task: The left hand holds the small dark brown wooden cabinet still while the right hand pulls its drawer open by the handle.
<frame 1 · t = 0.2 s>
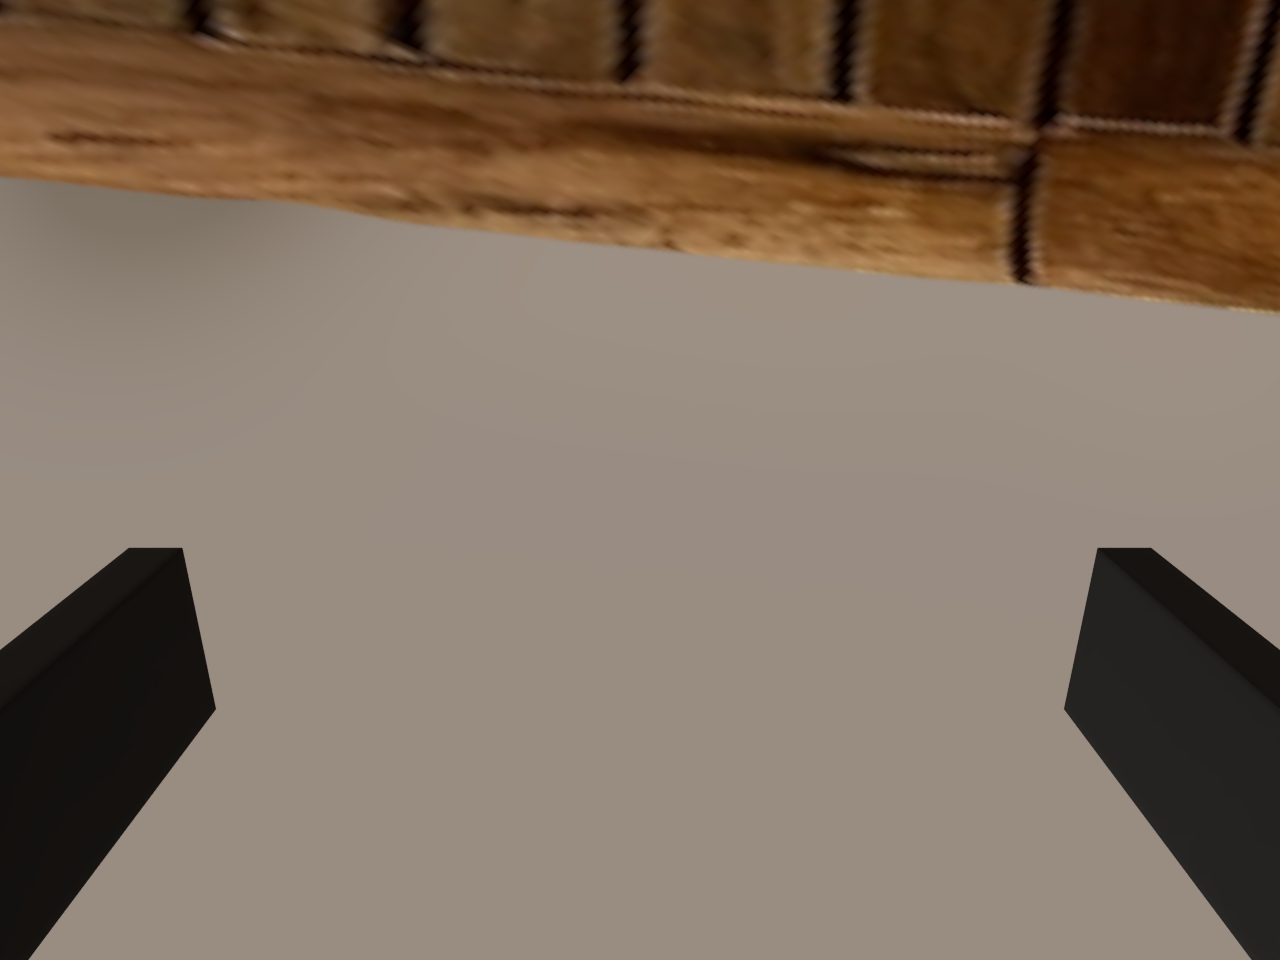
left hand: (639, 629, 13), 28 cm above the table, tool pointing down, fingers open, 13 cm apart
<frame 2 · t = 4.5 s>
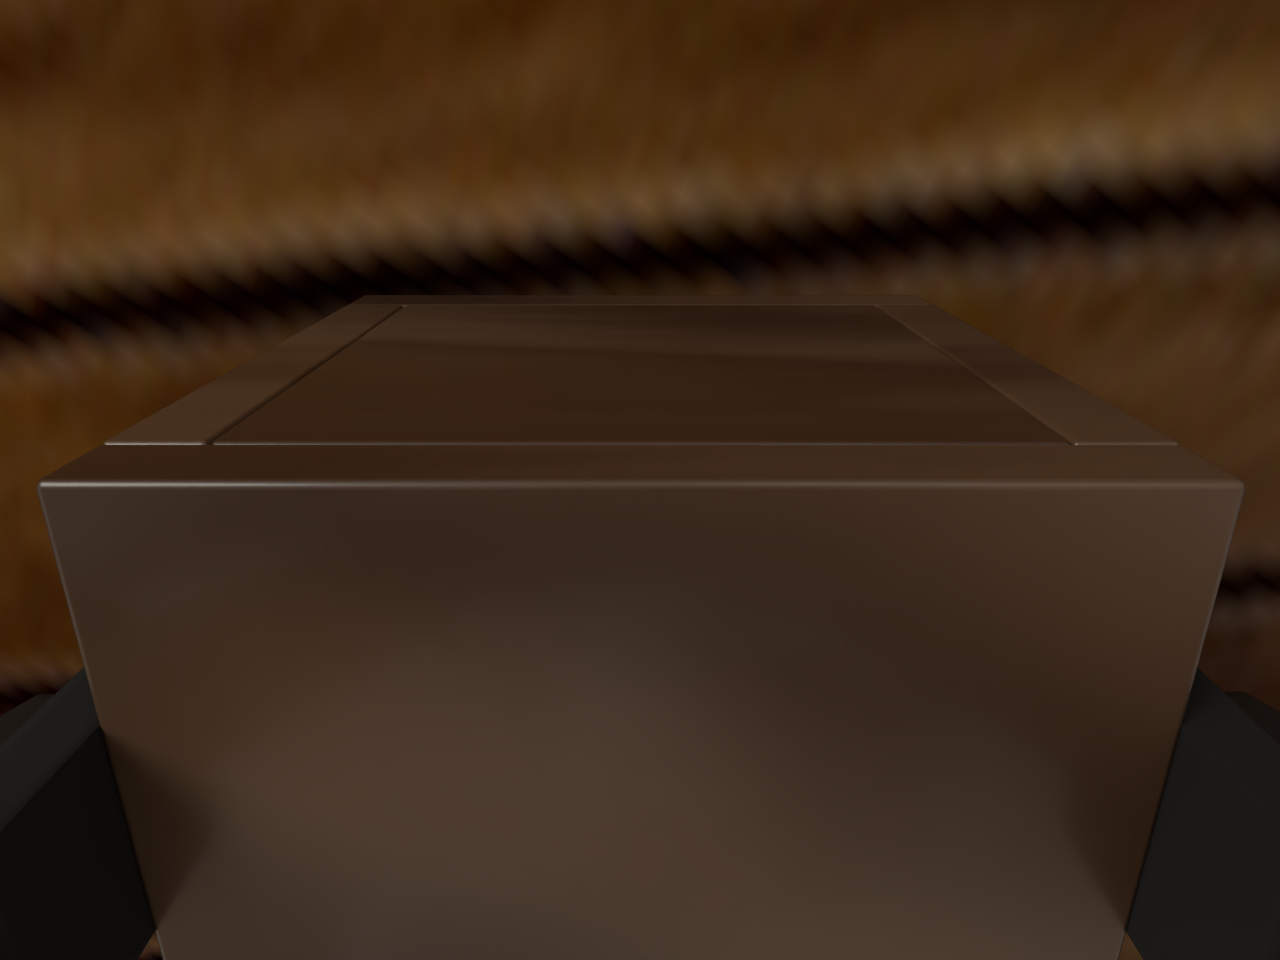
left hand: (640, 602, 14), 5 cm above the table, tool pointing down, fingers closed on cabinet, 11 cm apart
cabinet: (640, 688, 20), on the table, touching left hand
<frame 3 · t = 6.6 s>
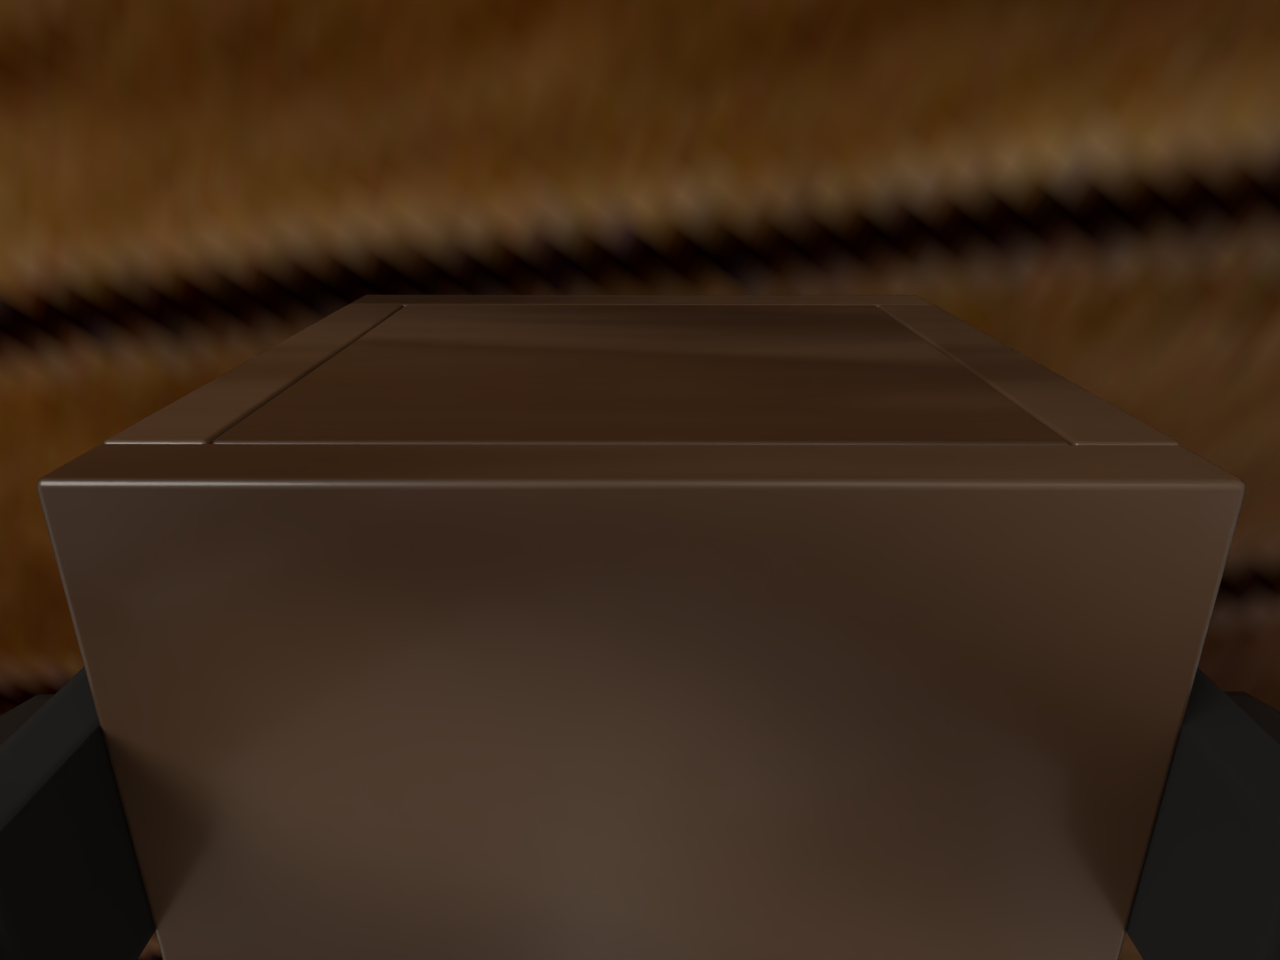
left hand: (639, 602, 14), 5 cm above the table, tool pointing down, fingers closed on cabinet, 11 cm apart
cabinet: (640, 688, 20), on the table, touching left hand
when the left hand's fingers open (5 cm above the table, at t = 9.1 s): cabinet stays where it is, on the table.
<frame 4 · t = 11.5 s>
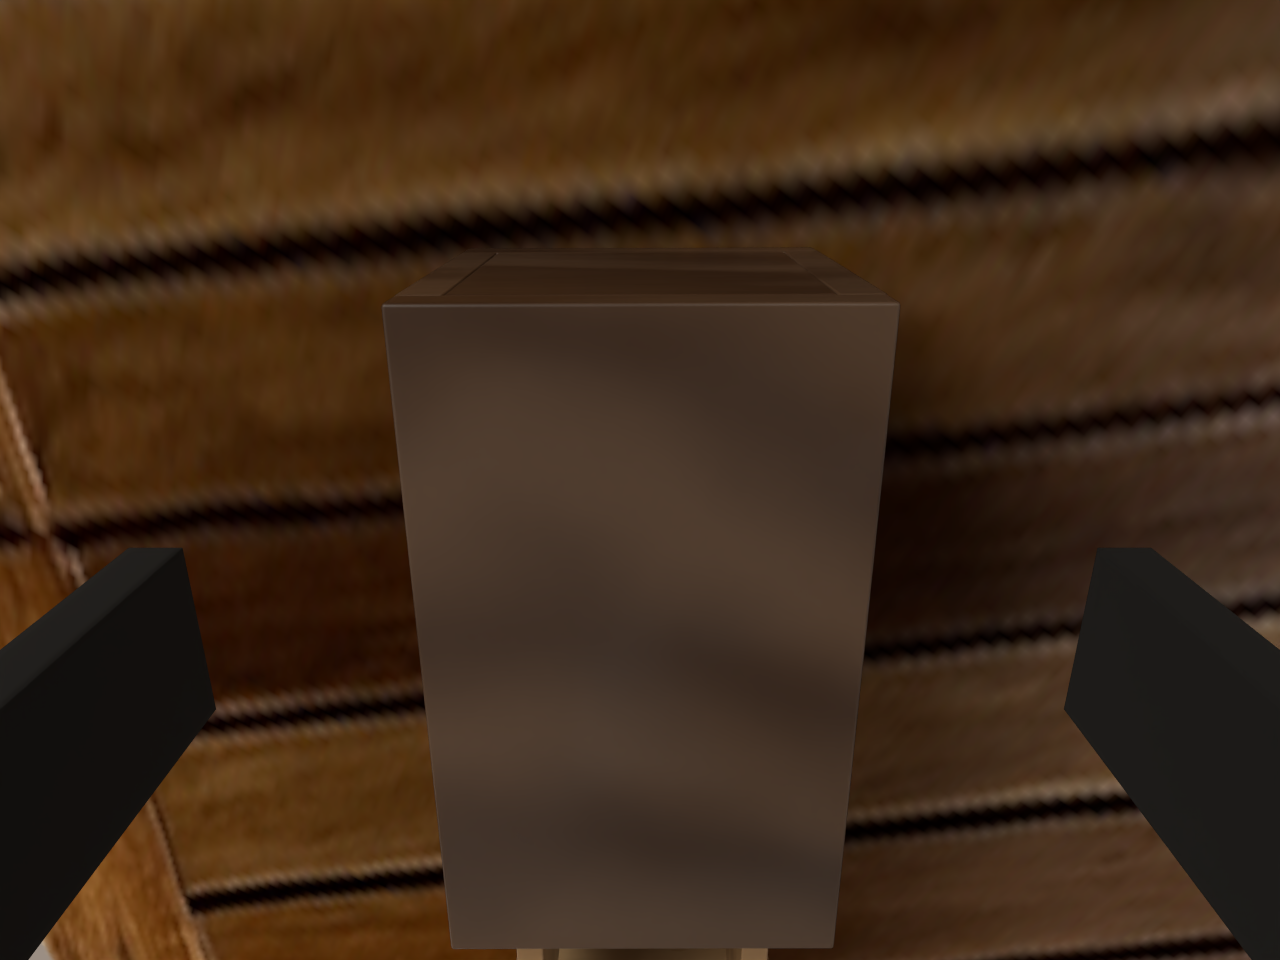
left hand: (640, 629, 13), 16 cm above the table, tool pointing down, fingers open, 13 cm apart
cabinet: (641, 513, 30), on the table
drawer: (642, 903, 30), point 5 cm above the table, slide at 7.5 cm
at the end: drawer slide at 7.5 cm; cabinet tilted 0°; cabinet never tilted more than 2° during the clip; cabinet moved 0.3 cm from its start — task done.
